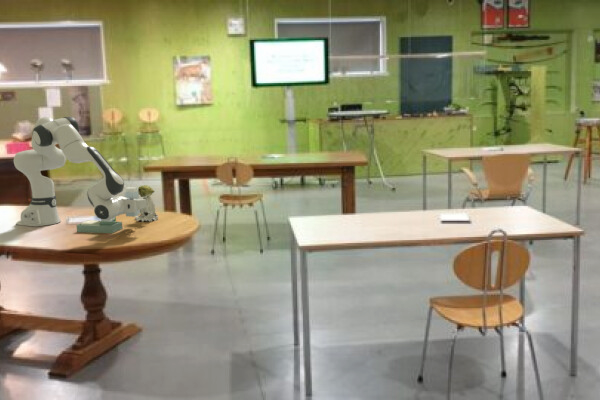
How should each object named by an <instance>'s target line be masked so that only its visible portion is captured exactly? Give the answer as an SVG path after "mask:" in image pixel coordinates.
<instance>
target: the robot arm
mask: <svg viewBox="0 0 600 400" xmlns="http://www.w3.org/2000/svg"><path fill="white" fill-rule="evenodd" d="M31 133H32V137H31V143H30V144H31V148H32V149H26V150H22V151H19V152H17V153H16V154H15V155H14V157H13V164H14V167H15V169H16V170H18V171H19V172H21V173H22V174H23V175H24V176H26V178H27V179H28V181H29V183H30V187H31V195H32V197H31V198H28V202H30V203H29V205H28V206H27V207H25V209H23V210H22V211H21V212H20V220H18V221H17V222H15V225H19V226H26V227H42V226H50V225H56V224H60V222H61V218H60V215H59V212H58V207H57V195H56V193H55V182H54V181H53V179H52V178H50V177H48V176H44V175H42V173H41V171H50V170H56V169H60V168H62V167H65V165H66V162H67V161H69V162H71V163H72V164H73V163H74V164H82V163H87V162H92V163H93V164H94V165H95V167H96V168H97V169H98V171H100V172H101V174H102V176H103V177H102V178H101V179H100V180H99V181H97V182H96V183H95V184H92V186H90V187H89V188H88V189H87V191H86V192H87V193H86V195H87V200H88V201H89V203H90V204H91V206H92V207H93V213H94V215H95V216H96V217H97V218H99V220H101V219H103V220H106V219H111V218H114V217H116V218H117V217H119V216H122V215H126V213H135V212H137V210H140V209H143V208H145V207H146V200H145V199H143V198H139V199H130V198H126V197H125V196H122V195H118V194H120V193H122V192H123V190H124V188H125V182H124V179H123V178H122V177H121V175H120V174H119V173H118V172H117V171H116V170H115V169H113V167H112V166H111V164H109V162H108V161H107V159H105V157H104V156H103V155H102V153H101V152H100V151H99V150H98V149H96V148H95V147H93V146H89V145H88V144H87V143H86V141H84V139H83V137H82V135H81V134H80V126H79V124H78V121H77V120H76V118H74V117H72V116H64V117H61V118H55V119H52V118H51V117H47V116H43V117H41V118H39V119H37V120H36V122H35V124H34V127H33V129H32V132H31ZM56 144H58V146H59V148H58V147H57V146H56ZM117 195H118V196H117ZM113 196H114V198H112V197H113Z"/></svg>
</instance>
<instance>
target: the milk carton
mask: <svg viewBox="0 0 600 400" xmlns="http://www.w3.org/2000/svg"><path fill="white" fill-rule="evenodd" d="M124 188H125V189H124V190H125V191H124V197H126V198H130V199H140V196H139V192H138V187H130V186H129V187H124ZM140 215H141V213H140V210H137V212H135V213H126V214H125V216H126V217H129V218H130V217H132V218H133V217H134V218H135V217H136V216H140Z"/></svg>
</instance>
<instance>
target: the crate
mask: <svg viewBox="0 0 600 400" xmlns="http://www.w3.org/2000/svg"><path fill="white" fill-rule="evenodd" d="M99 221H100V226H95V225H81V223H78V224H76V232H77V233H90V234H91V233H92V234H93V233H94V234H95V233H97V234H114V233H116V232H118V231H121V230H122V229H123V221H115V222H112V221H101V220H99Z"/></svg>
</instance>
